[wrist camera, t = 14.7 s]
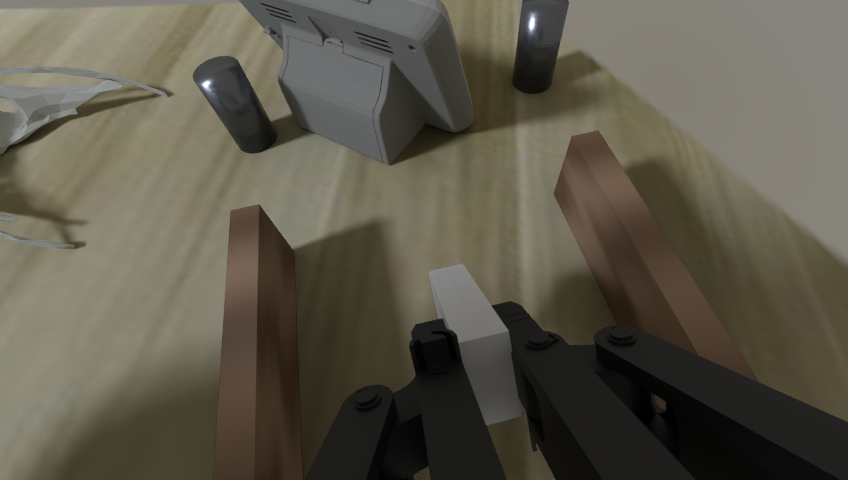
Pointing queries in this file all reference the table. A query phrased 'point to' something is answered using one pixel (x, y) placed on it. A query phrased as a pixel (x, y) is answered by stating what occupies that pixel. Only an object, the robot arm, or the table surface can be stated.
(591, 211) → the chute
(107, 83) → the skeletal model
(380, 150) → the digital clock
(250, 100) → the posts
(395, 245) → the table surface
